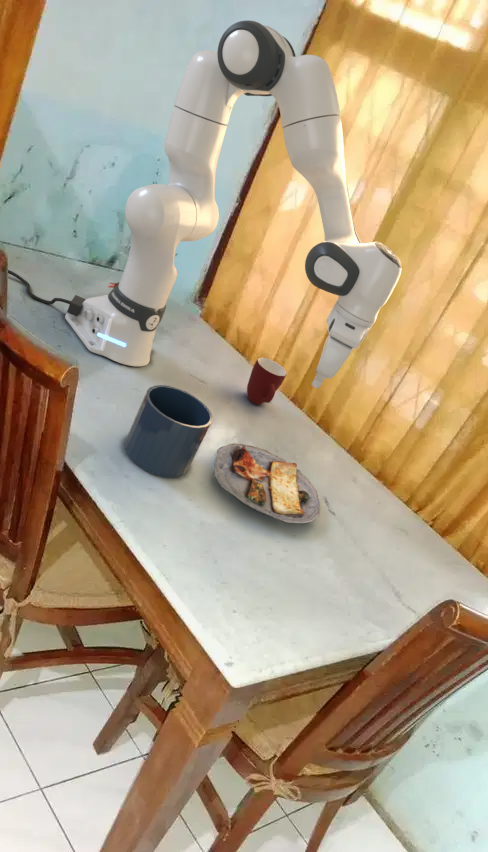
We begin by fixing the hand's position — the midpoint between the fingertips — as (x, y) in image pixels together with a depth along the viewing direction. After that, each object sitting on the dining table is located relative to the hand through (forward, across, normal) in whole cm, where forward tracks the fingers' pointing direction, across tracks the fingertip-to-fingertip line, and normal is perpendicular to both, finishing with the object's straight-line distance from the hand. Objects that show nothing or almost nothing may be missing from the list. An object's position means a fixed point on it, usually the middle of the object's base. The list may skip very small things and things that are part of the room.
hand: (316, 379), depth 155 cm
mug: (+20, -18, -9) cm, 28 cm away
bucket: (+19, +27, -22) cm, 40 cm away
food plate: (+20, +19, 0) cm, 27 cm away
